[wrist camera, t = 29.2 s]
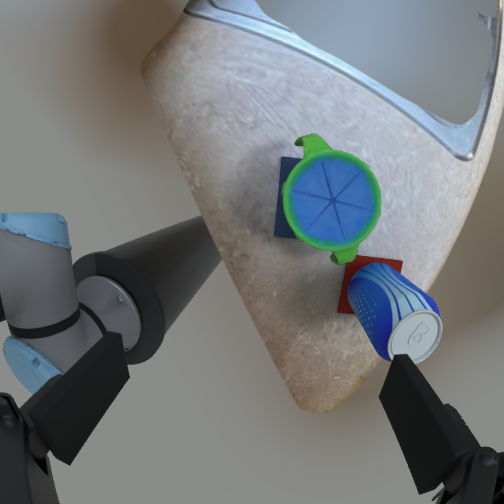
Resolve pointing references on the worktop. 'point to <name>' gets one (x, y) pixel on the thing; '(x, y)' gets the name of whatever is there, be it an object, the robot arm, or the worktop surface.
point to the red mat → (351, 271)
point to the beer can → (394, 313)
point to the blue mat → (281, 223)
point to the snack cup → (331, 199)
